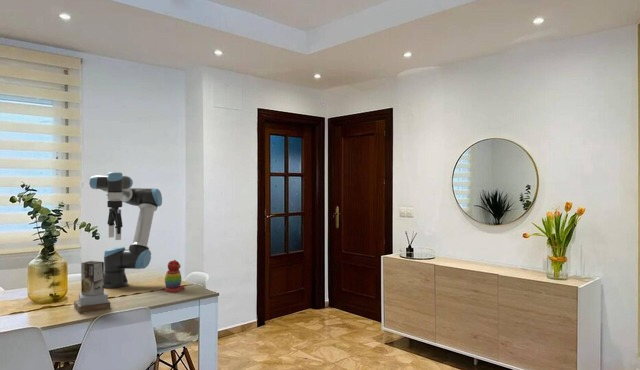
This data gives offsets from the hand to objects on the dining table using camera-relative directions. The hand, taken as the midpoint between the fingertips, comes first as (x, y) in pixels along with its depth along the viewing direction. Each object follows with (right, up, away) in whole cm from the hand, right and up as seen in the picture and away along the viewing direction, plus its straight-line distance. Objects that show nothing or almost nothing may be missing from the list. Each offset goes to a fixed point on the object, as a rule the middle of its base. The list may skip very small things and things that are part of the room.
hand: (114, 238), depth 247 cm
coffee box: (-2, -26, -20) cm, 33 cm away
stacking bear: (+27, -33, +18) cm, 46 cm away
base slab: (-2, -34, -20) cm, 39 cm away
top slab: (-2, -30, -20) cm, 36 cm away
